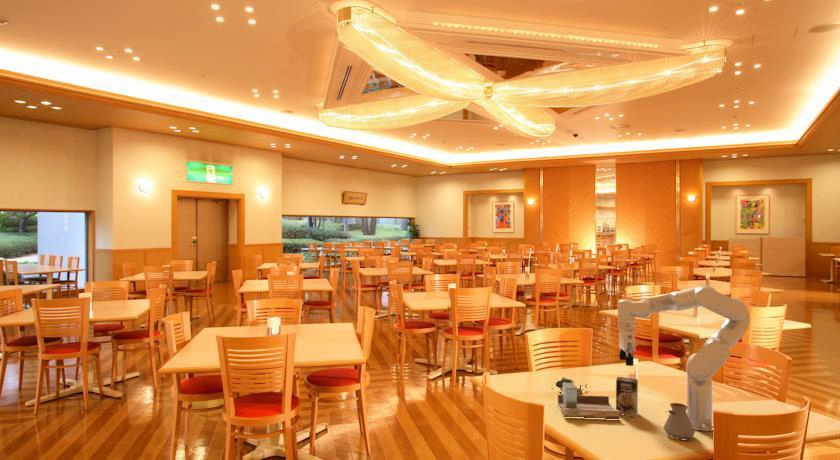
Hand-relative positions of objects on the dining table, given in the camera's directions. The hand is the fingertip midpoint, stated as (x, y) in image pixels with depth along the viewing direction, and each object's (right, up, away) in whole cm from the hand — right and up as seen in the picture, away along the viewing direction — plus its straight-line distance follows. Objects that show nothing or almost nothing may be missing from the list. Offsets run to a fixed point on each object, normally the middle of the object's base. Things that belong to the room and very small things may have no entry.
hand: (626, 362), depth 231 cm
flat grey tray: (-18, -24, +2) cm, 30 cm away
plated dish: (-15, -25, +34) cm, 45 cm away
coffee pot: (+8, -24, -29) cm, 39 cm away
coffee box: (0, -24, 0) cm, 24 cm away
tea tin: (-26, -22, +3) cm, 34 cm away
